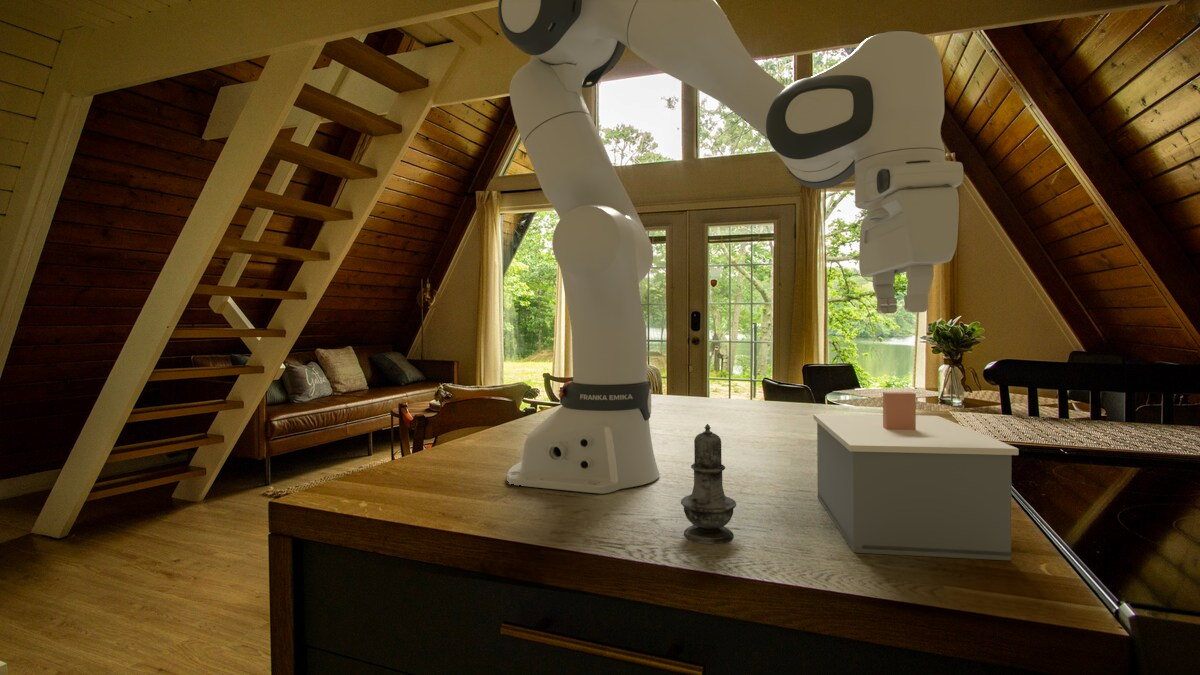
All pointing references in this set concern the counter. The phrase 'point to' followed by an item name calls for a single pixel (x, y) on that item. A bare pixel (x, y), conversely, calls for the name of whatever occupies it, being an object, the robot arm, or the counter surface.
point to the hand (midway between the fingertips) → (900, 313)
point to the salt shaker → (708, 494)
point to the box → (917, 501)
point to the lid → (908, 431)
